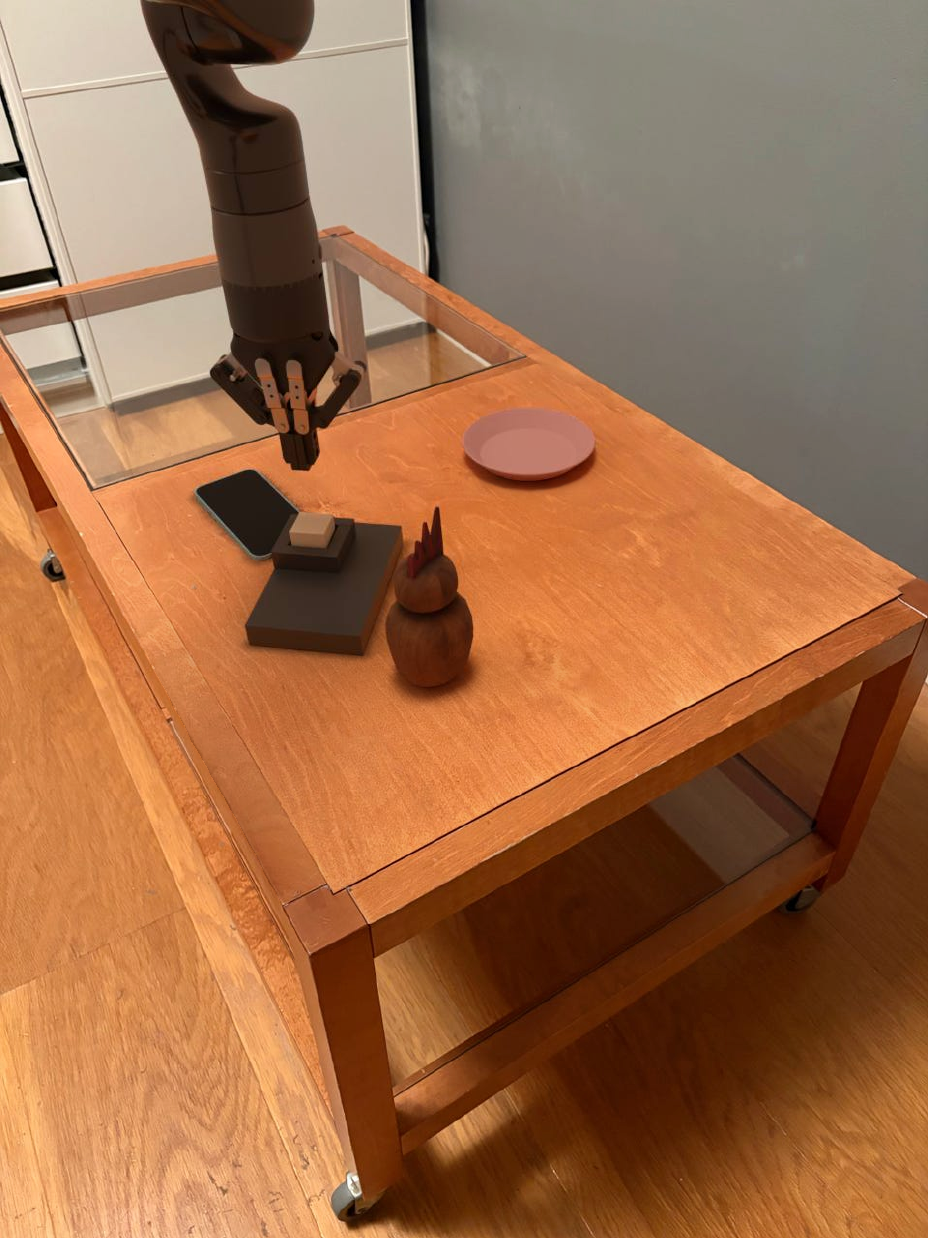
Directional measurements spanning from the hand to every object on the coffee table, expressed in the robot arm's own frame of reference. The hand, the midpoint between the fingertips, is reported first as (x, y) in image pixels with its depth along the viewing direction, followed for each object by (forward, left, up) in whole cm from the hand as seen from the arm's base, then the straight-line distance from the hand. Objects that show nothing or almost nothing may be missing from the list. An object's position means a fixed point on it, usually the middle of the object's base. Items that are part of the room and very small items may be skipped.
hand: (303, 465), depth 81 cm
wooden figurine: (+13, -12, -11) cm, 21 cm away
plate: (+17, +23, -11) cm, 31 cm away
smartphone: (-9, +8, -12) cm, 17 cm away
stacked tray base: (+2, -3, -11) cm, 12 cm away
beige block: (0, 0, -8) cm, 8 cm away
